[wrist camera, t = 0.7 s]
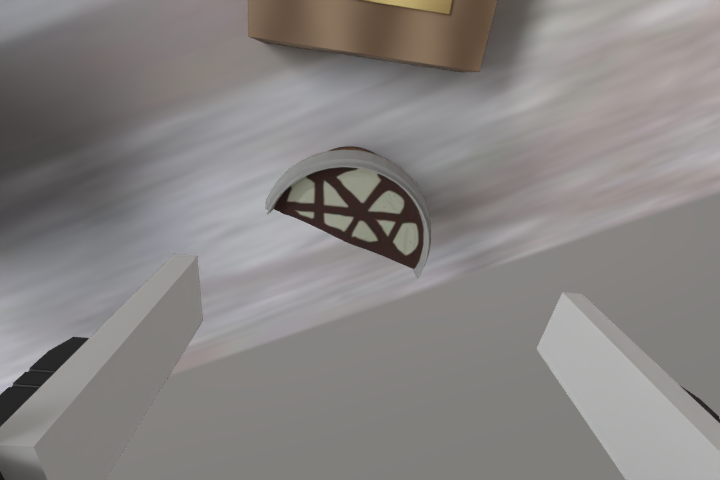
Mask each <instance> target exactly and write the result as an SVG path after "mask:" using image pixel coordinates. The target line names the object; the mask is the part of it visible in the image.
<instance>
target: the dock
mask: <svg viewBox="0 0 720 480" xmlns="http://www.w3.org/2000/svg"><path fill="white" fill-rule="evenodd" d="M496 4H497V0H248V37H251V38H253V39H256V40H258V41H261V42H265V43H272V44H279V45H285V46H292V47H298V48H305V49H312V50H318V51H325V52H331V53H338V54H345V55H351V56H358V57H364V58H371V59H378V60H384V61H391V62H398V63H404V64H411V65H417V66H424V67H431V68H437V69H444V70H450V71H457V72H480V68H481V64H482V60H483V56H484V52H485V48H486V44H487V40H488V36H489V32H490V28H491V24H492V20H493V16H494V12H495V8H496Z"/></svg>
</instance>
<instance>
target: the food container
mask: <svg viewBox="0 0 720 480" xmlns="http://www.w3.org/2000/svg"><path fill="white" fill-rule="evenodd" d="M265 209H267V210H268V213H267V214H269V213H270V212H271V211H272V210H273V209H275V210H277V211H280V212H281V213H283V214H286V215H289V216H292V217H295V218H297V219H299V220H302V221H304V222H306V223H308V224H311V225H313V226H315V227H317V228H319V229H321V230H323V231H325V232H327V233H329V234H331V235H333V236H335V237H337V238H339V239H341V240H343V241H345V242H347V243H350V244H353V245H355V246H358V247H361V248H364V249H367V250H369V251H372V252H375V253H377V254H380V255H382V256H385V257H387V258H389V259H392V260H394V261H396V262H399V263H401V264H403V265H406V266H408V267H410V268H413V270H414V272H415V275H416V277H417V278H418V277H419V276H420V274H421V272H422V270H423V268H424V266H425V263H426V260H427V257H428V255H429V249H430V244H431V221H430V216H429V210H428V207H427V204H426V201H425V199H424V196H423V195H422V193H421V191H420V189H419V188H418V186H417V185H416V183H415V182H414V181H413V180H412V179H411V177H410V176H409V175H408V174H407V173H406V172H404V171H403V170H402V169H401V168H400V167H399V166H397V165H395V164H394V163H392V162H390V161H389V160H387V159H385V158H382V157H380V156H378V155H376V154H375V153H373V152H371V151H369V150H366V149H363V148H359V147H339V148H336V149H332V150H330V151H327V152H324V153H320V154H316V155H313V156H311V157H309V158H307V159H305V160H303V161H301V162H299V163H298V164H296V165H295V166H293V167H292V168H290V169H289V170H288V171H287V172H286V173H285V174H284V175H283V176H282V177H281V178H280V179H279V180H278V181H277V183H276V184H275V185H274V187H273V188H272V189H271V191H270V193H269V195H268V197H267V199H266V206H265Z"/></svg>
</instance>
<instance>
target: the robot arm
mask: <svg viewBox="0 0 720 480" xmlns="http://www.w3.org/2000/svg"><path fill="white" fill-rule="evenodd" d="M202 321H203V316H202V304H201V292H200V281H199V269H198V257H197V256H192V255H182V254H173V255H172V256H171V257H170V258H169V259H168V260H167V261H166V262H165V263H164V264H163V265H162V266H161V267H160V268H159V269H158V270H157V271H156V272H155V273H154V274H153V275H152V276H151V277H150V278H149V279H148V280H147V281H146V282H145V283H144V284H143V285H142V286H141V287H140V288H139V289H138V290H137V291H136V292H135V293H134V294H133V295H132V296H131V297H130V298H129V299H128V300H127V301H126V302H125V303H124V304H123V305H122V306H121V307H120V308H119V309H118V310H117V311H116V312H115V313H114V314H113V315H112V316H111V317H110V318H109V319H108V320H107V321H106V322H105V323H104V324H103V325H102V326H101V327H100V328H99V329H98V330H97V331H96V332H95V333H94V334H93V335H92V336H91V337H90V338H81V337H73V338H71V339H69V340H67V341H65V342H64V343H62V344H60V345H58V346H57V347H55V348H53V349H51V350H50V351H48V352H47V353H46V354H45V355H44V356H43V357H42V358H40V359H39V360H38V361H37V362H36V363H35V364H34V365H33V366H32V367H30V370H29V371H28V372H25V373H24V374H23V375H22V376H21V377H19V378H18V379H17V380H16V381H15V382H14V383H13V386H12V387H8V388H7V389H6V390H5V391H4V392H3V393H2V394H1V395H0V480H106V479H107V477H108V476H109V474H110V472H111V471H112V469H113V467H114V466H115V464H116V462H117V461H118V459H119V457H120V456H121V454H122V453H123V451H124V449H125V448H126V446H127V444H128V443H129V441H130V439H131V438H132V436H133V434H134V433H135V431H136V430H137V428H138V426H139V425H140V423H141V421H142V420H143V418H144V416H145V415H146V413H147V412H148V410H149V408H150V407H151V405H152V403H153V402H154V400H155V398H156V397H157V395H158V393H159V392H160V390H161V389H162V387H163V385H164V384H165V382H166V380H167V379H168V377H169V375H170V374H171V372H172V370H173V369H174V367H175V366H176V364H177V362H178V361H179V359H180V357H181V356H182V354H183V352H184V351H185V349H186V347H187V346H188V344H189V343H190V341H191V339H192V338H193V336H194V334H195V333H196V331H197V329H198V328H199V326H200V324H201V323H202ZM537 350H538V352H539V353H540V355H541V356H542V358H543V359H544V361H545V362H546V363H547V365H548V366H549V368H550V369H551V371H552V372H553V374H554V375H555V377H556V378H557V380H558V381H559V382H560V384H561V385H562V387H563V388H564V390H565V391H566V393H567V394H568V396H569V397H570V399H571V400H572V402H573V403H574V404H575V406H576V407H577V409H578V410H579V411H580V413H581V415H582V416H583V418H584V419H585V421H586V422H587V423H588V425H589V426H590V428H591V429H592V431H593V432H594V434H595V435H596V437H597V438H598V440H599V441H600V442H601V444H602V445H603V447H604V448H605V450H606V451H607V453H608V454H609V456H610V457H611V458H612V460H613V461H614V463H615V464H616V466H617V467H618V469H619V470H620V472H621V473H622V475H623V476H624V478H625V479H626V480H720V419H719V416H718V415H717V414H716V413H714V412H713V411H712V410H711V409H710V408H709V407H708V406H707V405H706V404H705V403H703V401H701V400H700V399H699V398H698V397H696V396H695V395H693V394H692V393H690V392H689V391H687V390H686V389H684V388H683V387H681V386H680V385H679V384H677V383H676V382H675V381H674V380H673V379H672V378H671V377H670V376H669V375H668V374H667V373H666V372H665V371H663V370H662V369H661V368H660V367H659V366H658V365H657V364H656V363H655V362H654V361H653V360H651V358H650V357H649V356H647V355H646V354H645V353H644V352H643V351H642V350H641V349H640V348H639V347H638V346H637V345H636V344H635V343H634V342H633V341H631V340H630V339H629V338H628V337H627V336H626V335H625V334H624V333H623V332H622V331H621V330H620V329H619V328H618V327H617V326H616V325H614V324H613V323H612V322H611V321H610V320H609V319H608V318H607V317H606V316H605V315H604V314H603V313H602V312H600V310H598V309H597V308H596V307H595V306H594V305H593V304H592V303H591V302H590V301H589V300H588V299H587V298H586V297H585V296H584V295H582V294H576V293H566V292H565V293H564V292H562V295H561V297H560V299H559V301H558V303H557V306H556V308H555V310H554V312H553V314H552V316H551V319H550V321H549V323H548V325H547V328H546V330H545V332H544V334H543V336H542V338H541V340H540V343H539V345H538V347H537Z"/></svg>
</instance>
